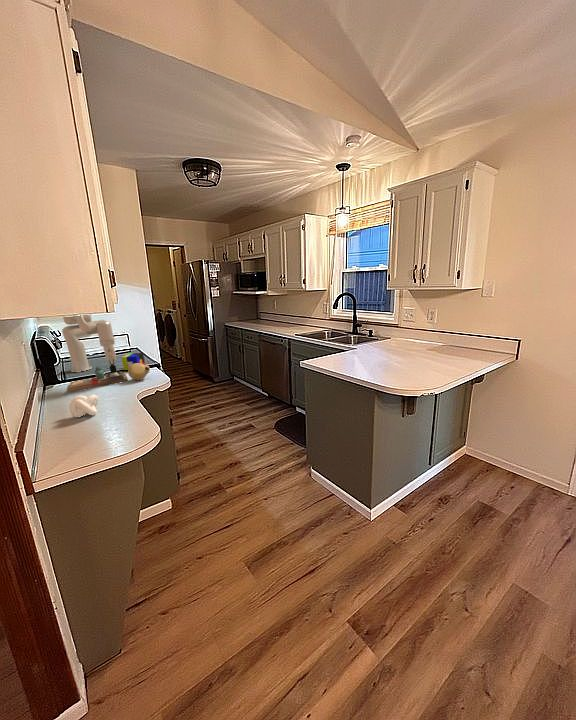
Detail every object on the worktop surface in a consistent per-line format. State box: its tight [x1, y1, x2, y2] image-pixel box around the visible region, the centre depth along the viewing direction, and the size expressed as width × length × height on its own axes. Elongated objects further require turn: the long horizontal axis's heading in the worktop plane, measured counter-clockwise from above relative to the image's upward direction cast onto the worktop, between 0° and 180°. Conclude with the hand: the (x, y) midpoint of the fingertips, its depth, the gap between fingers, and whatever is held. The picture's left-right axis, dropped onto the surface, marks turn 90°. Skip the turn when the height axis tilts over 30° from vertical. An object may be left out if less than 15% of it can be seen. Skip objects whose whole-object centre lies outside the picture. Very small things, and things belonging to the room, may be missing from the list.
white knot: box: [69, 394, 99, 418], centre depth 148 cm, size 11×12×9 cm
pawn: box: [94, 365, 105, 379], centre depth 197 cm, size 4×4×8 cm
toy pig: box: [127, 363, 151, 381], centre depth 195 cm, size 10×12×11 cm
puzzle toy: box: [121, 352, 146, 371], centre depth 219 cm, size 10×10×10 cm
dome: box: [109, 371, 119, 377], centre depth 194 cm, size 6×6×4 cm
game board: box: [68, 370, 129, 394], centre depth 194 cm, size 18×30×5 cm, turn 121°
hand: (113, 372), depth 194 cm, fingers closed
